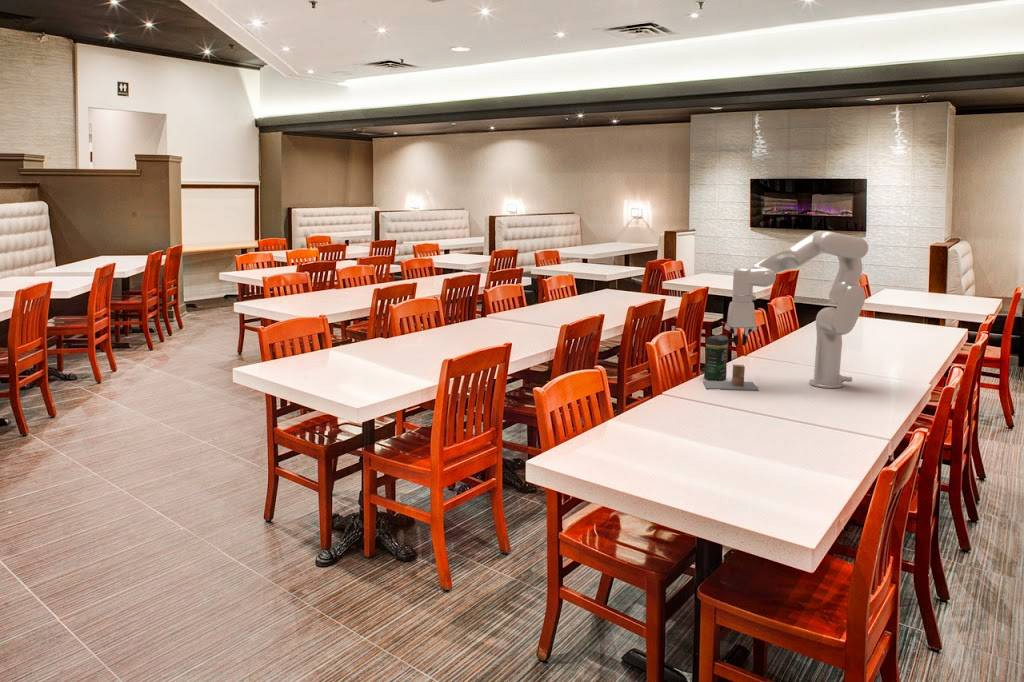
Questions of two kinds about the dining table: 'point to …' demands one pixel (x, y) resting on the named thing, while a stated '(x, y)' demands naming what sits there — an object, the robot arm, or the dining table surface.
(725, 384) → the rubber mat
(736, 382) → the walnut block
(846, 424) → the dining table surface
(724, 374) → the coffee jar
